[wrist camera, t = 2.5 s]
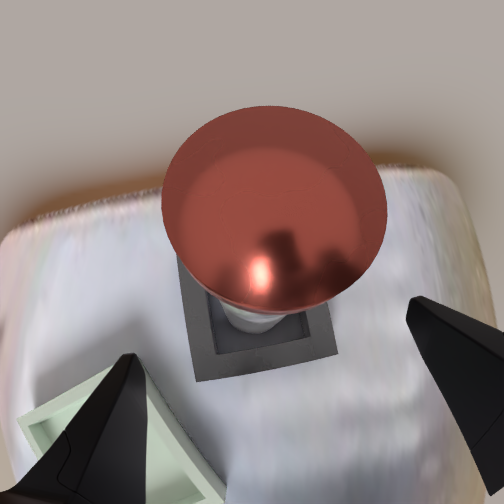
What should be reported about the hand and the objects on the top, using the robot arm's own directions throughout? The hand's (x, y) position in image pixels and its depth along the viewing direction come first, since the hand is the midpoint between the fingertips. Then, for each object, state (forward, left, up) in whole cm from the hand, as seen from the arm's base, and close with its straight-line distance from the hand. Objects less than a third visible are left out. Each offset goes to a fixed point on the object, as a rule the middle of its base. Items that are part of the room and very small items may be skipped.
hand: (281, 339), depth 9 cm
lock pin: (+2, -2, -11) cm, 11 cm away
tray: (+5, +12, -11) cm, 17 cm away
